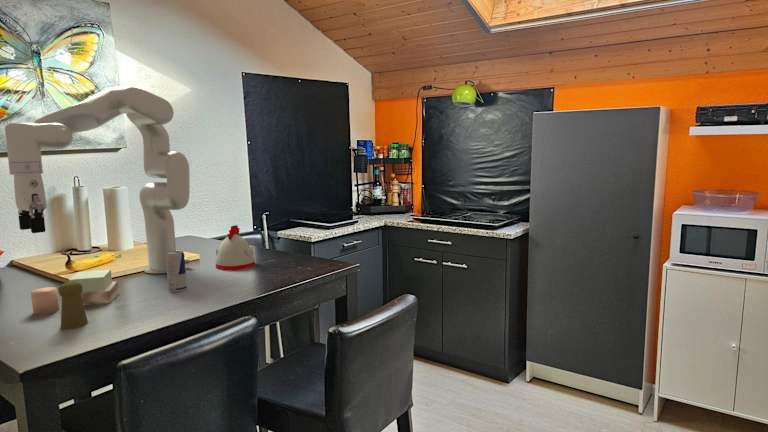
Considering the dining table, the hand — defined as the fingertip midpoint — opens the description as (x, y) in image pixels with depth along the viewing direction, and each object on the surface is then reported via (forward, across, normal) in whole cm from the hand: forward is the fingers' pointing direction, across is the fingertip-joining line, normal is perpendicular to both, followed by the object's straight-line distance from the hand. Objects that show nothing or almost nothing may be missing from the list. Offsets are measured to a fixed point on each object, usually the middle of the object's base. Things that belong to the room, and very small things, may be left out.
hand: (32, 230), depth 145 cm
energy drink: (+22, -15, -33) cm, 42 cm away
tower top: (+18, -4, -12) cm, 22 cm away
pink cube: (+22, -5, 0) cm, 23 cm away
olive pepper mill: (+22, -24, 0) cm, 32 cm away
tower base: (+22, -4, -13) cm, 26 cm away
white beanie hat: (+22, -2, -62) cm, 66 cm away
